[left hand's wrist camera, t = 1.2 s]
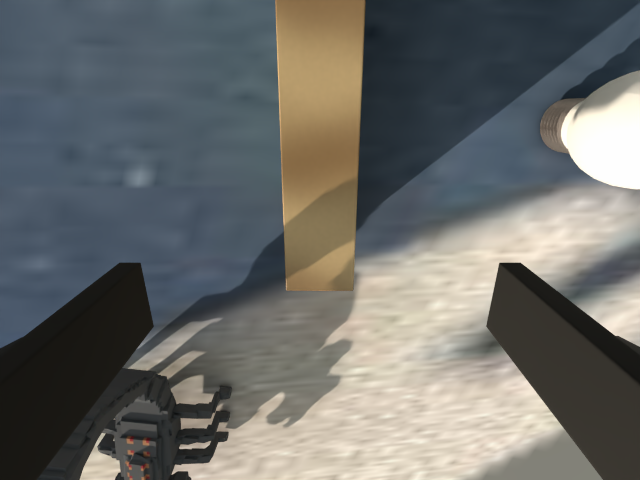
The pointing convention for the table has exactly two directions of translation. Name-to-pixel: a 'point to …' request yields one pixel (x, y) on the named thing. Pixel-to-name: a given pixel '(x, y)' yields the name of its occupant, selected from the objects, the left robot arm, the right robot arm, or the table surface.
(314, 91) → the wooden beam
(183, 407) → the toy
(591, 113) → the light bulb
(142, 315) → the left robot arm
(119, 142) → the table surface
